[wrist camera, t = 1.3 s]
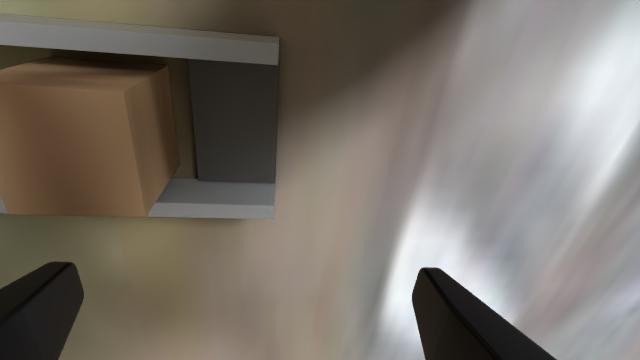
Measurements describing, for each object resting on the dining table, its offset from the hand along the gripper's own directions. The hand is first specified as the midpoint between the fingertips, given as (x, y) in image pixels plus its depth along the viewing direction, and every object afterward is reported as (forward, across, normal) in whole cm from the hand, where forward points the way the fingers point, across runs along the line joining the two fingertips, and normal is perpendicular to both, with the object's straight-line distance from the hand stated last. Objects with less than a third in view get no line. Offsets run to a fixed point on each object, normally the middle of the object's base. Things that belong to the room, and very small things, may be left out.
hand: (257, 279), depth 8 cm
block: (+11, +7, 0) cm, 13 cm away
